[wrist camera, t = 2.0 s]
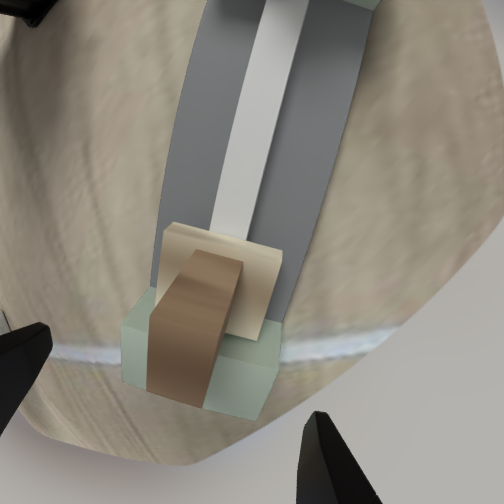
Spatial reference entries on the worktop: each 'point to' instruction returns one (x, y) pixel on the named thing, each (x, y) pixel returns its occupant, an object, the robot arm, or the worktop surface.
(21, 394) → the robot arm
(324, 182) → the rail bench
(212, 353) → the carriage
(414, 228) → the worktop surface
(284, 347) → the worktop surface
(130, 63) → the worktop surface
